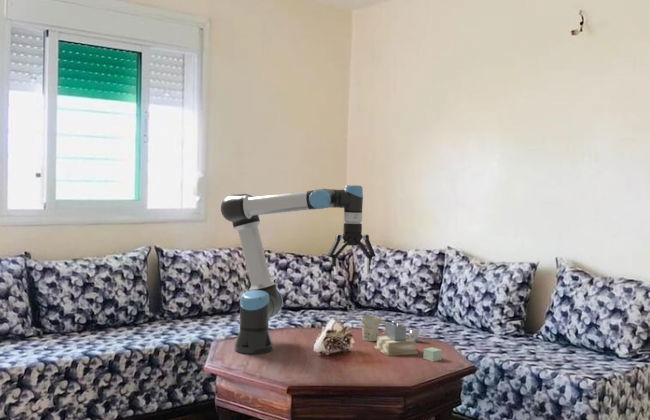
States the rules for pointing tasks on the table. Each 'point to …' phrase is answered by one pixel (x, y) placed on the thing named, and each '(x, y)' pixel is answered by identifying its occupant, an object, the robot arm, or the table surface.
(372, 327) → the mug
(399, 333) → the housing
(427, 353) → the sage block
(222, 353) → the table surface
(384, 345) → the plinth
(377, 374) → the table surface
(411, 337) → the grey bushing
